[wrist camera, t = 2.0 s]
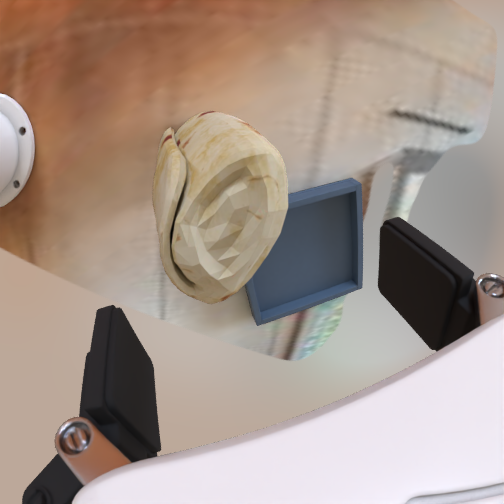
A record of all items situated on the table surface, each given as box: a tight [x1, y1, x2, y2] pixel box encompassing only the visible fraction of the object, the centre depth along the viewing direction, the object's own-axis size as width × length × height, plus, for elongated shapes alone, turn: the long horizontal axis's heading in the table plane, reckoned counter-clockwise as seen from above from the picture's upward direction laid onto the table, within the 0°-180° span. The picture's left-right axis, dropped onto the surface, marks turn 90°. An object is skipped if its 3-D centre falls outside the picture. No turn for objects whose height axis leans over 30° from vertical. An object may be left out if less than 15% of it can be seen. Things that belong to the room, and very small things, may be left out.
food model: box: [153, 111, 288, 304], centre depth 23 cm, size 10×7×20 cm
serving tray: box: [245, 178, 363, 326], centre depth 40 cm, size 16×16×2 cm
